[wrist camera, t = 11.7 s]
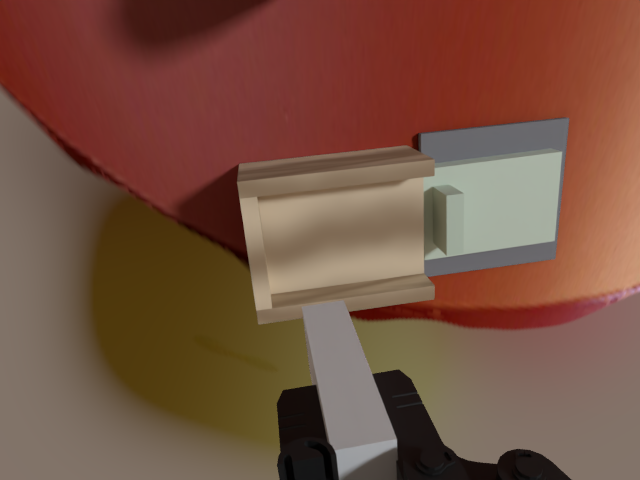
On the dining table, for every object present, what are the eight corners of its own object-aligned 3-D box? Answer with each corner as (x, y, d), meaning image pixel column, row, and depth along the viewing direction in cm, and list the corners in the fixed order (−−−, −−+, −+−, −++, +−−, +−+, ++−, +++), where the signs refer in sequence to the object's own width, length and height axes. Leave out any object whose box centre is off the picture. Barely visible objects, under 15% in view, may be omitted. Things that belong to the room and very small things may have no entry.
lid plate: (416, 165, 40) (436, 177, 36) (550, 148, 41) (585, 158, 37) (418, 253, 43) (437, 274, 38) (544, 235, 44) (576, 253, 39)
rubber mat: (418, 133, 39) (420, 134, 39) (564, 117, 41) (569, 118, 40) (419, 274, 44) (422, 277, 44) (551, 256, 45) (555, 258, 45)
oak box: (239, 164, 38) (236, 181, 32) (407, 145, 40) (434, 159, 34) (257, 288, 42) (258, 324, 36) (409, 267, 44) (434, 299, 38)
